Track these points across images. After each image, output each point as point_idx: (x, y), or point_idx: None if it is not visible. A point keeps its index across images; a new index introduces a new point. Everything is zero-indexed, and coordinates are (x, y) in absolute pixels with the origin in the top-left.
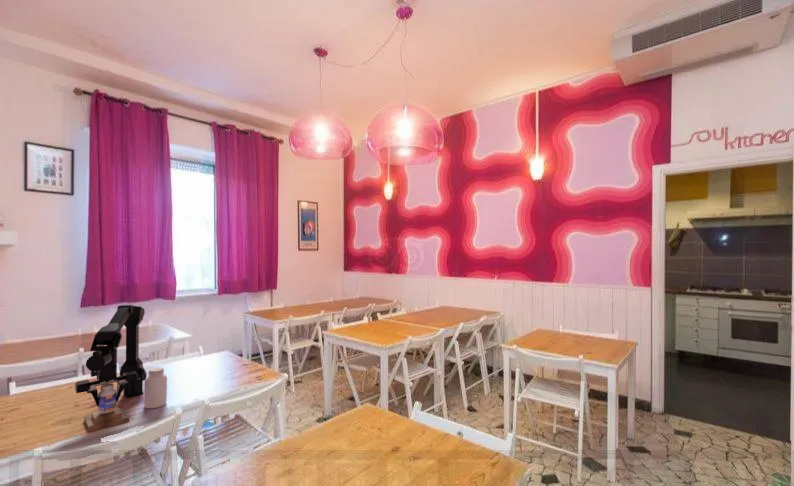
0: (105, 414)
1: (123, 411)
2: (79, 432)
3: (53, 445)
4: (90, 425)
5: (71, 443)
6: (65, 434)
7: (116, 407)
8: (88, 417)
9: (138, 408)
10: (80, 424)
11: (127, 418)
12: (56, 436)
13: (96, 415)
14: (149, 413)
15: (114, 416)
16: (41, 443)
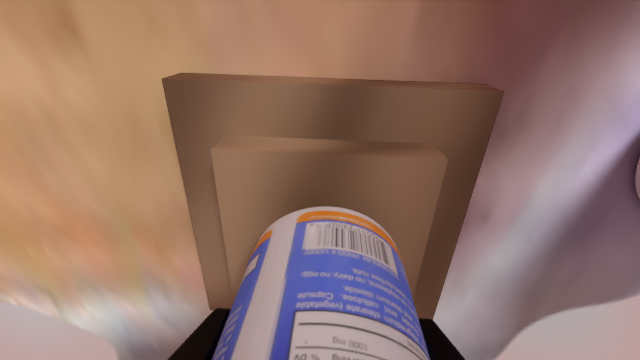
0: None
1: (457, 200)
2: (172, 262)
3: (80, 320)
4: (217, 289)
5: (155, 347)
6: (99, 237)
7: (432, 168)
8: (197, 126)
9: (606, 111)
10: (161, 134)
11: (420, 316)
12: (54, 231)
13: (246, 241)
14: (568, 270)
15: None
16: (6, 267)
